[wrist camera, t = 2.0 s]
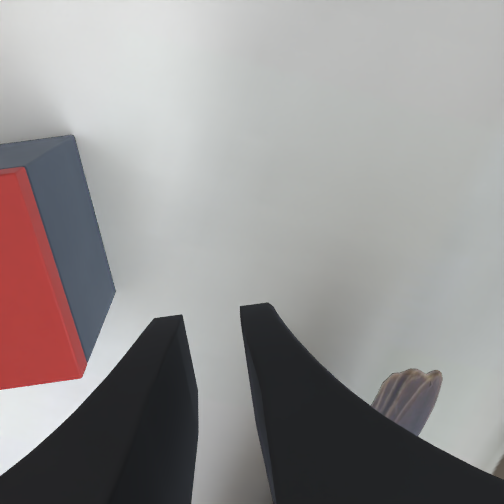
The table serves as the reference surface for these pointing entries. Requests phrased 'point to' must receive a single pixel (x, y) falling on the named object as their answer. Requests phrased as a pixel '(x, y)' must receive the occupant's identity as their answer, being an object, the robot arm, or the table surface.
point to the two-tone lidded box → (48, 264)
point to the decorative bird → (409, 398)
